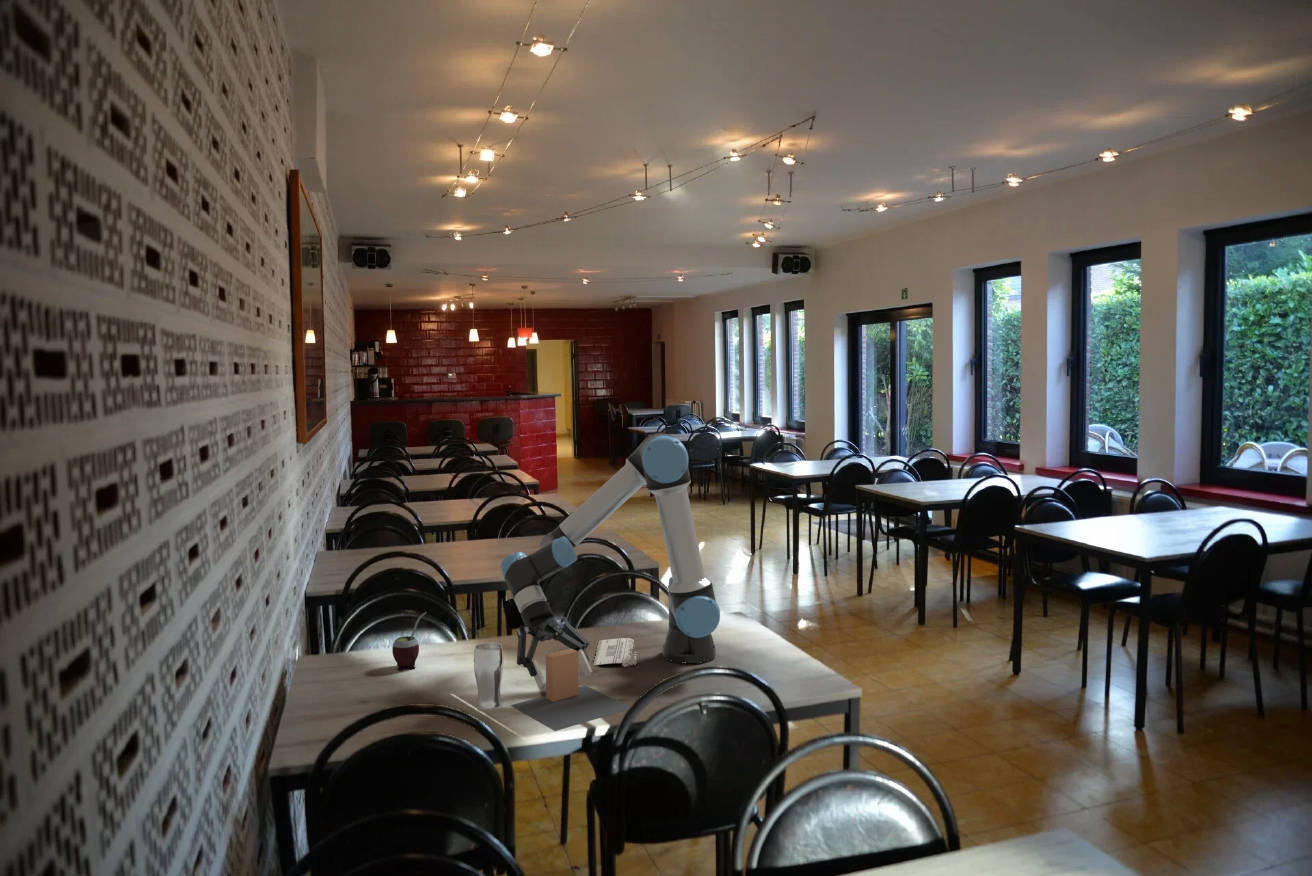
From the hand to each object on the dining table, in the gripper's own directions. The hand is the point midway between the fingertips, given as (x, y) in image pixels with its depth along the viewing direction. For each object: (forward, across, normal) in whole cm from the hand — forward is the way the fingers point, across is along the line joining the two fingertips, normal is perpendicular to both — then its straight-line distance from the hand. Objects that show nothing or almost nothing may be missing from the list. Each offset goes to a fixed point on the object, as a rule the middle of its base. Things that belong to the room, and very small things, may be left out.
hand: (566, 680), depth 223 cm
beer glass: (-2, +17, -9) cm, 19 cm away
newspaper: (-11, -31, -19) cm, 38 cm away
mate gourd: (-30, +20, -38) cm, 52 cm away
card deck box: (+2, 0, -5) cm, 5 cm away
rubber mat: (+7, +2, 0) cm, 7 cm away
